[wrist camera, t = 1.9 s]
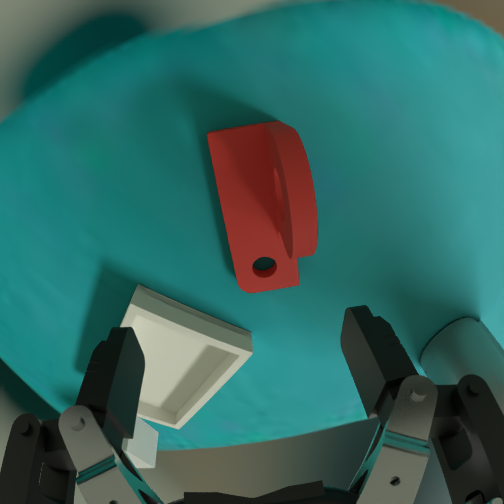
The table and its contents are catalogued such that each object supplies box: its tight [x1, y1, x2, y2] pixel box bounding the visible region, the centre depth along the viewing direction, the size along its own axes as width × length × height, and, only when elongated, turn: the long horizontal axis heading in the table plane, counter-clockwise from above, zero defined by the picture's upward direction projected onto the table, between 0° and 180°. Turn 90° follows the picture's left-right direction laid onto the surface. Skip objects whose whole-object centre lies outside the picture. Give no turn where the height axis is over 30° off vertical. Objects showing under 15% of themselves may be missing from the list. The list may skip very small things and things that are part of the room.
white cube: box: [122, 416, 158, 468], centre depth 32 cm, size 6×6×6 cm
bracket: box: [207, 121, 318, 293], centre depth 17 cm, size 12×4×8 cm, turn 8°
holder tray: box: [120, 284, 253, 429], centre depth 27 cm, size 11×17×2 cm, turn 148°
